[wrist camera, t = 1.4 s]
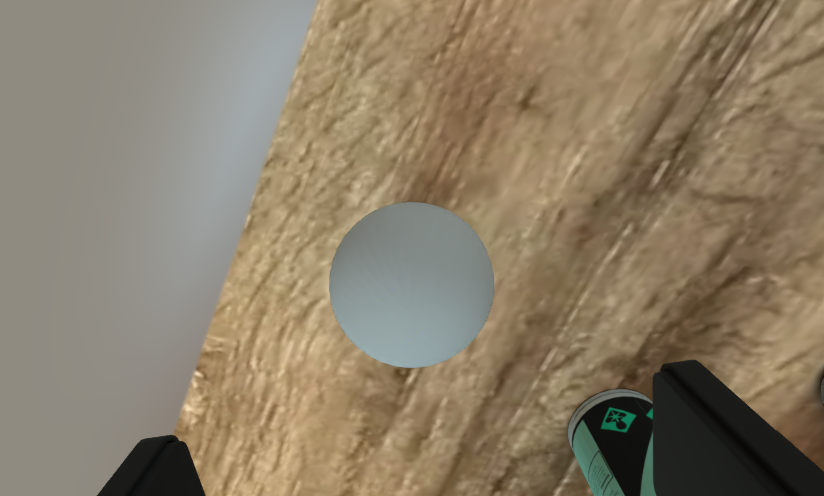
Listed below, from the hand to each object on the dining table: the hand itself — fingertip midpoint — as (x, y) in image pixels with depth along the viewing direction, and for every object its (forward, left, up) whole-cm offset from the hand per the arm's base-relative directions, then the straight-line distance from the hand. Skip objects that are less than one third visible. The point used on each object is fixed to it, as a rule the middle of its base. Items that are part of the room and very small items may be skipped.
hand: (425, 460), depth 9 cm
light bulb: (0, 0, -15) cm, 15 cm away
